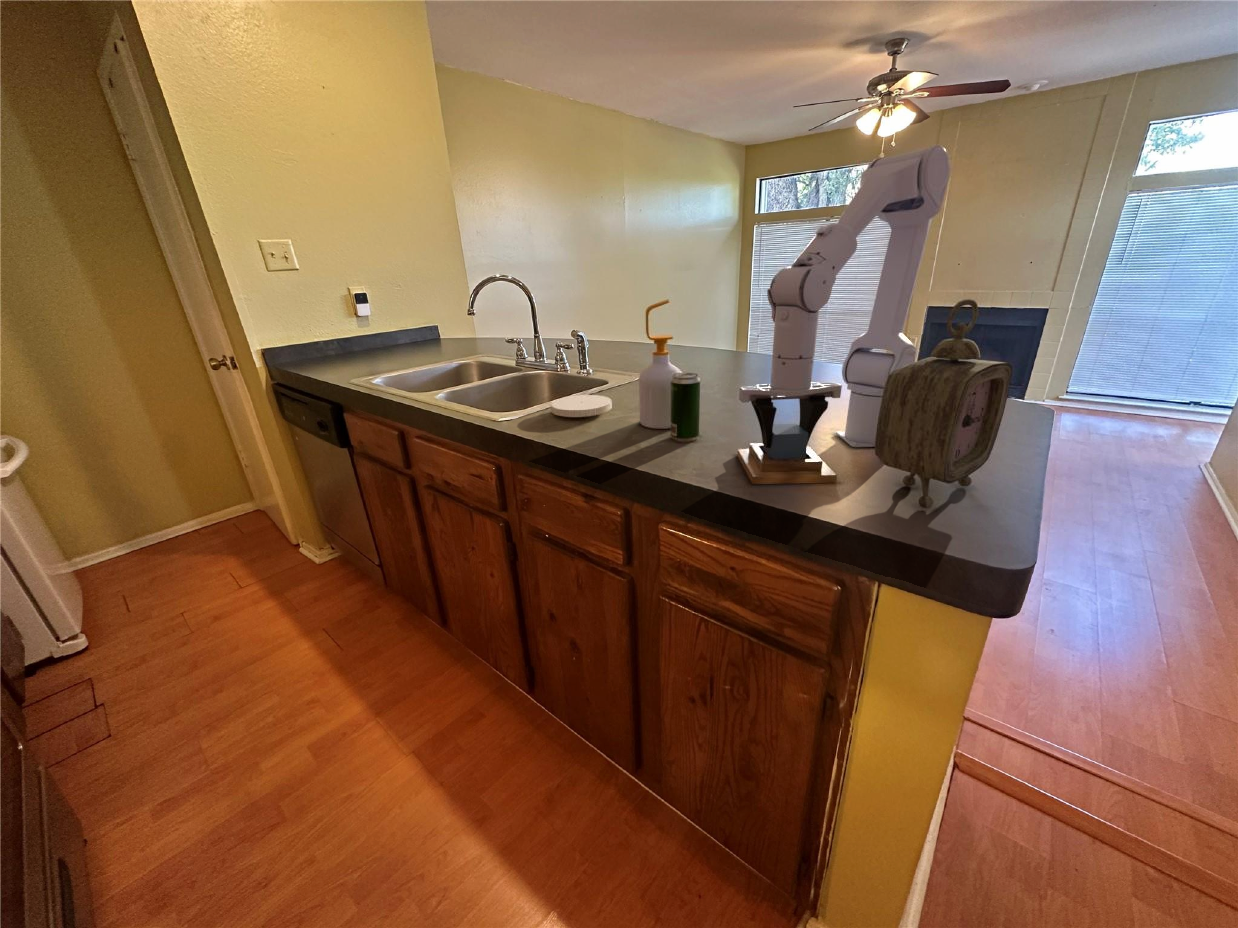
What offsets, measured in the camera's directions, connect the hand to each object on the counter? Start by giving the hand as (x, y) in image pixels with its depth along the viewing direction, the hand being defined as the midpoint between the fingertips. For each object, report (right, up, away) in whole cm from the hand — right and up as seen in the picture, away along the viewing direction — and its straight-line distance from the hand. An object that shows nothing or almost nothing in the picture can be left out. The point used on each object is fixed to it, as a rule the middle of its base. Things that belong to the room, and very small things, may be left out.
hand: (784, 444), depth 74 cm
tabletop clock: (+16, -7, -8) cm, 19 cm away
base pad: (0, -4, +1) cm, 4 cm away
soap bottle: (-17, +5, +27) cm, 32 cm away
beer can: (-13, +2, +17) cm, 22 cm away
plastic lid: (-34, +9, +37) cm, 51 cm away
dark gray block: (0, -1, +1) cm, 1 cm away
